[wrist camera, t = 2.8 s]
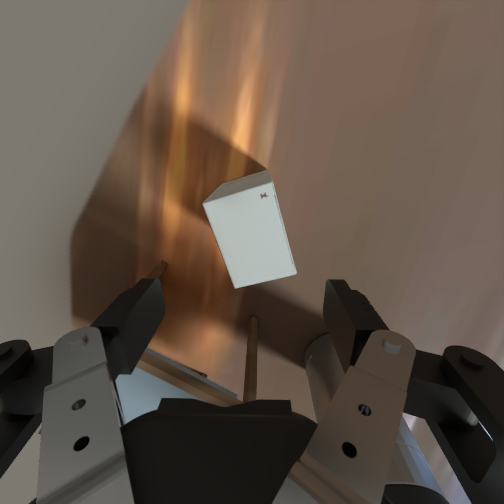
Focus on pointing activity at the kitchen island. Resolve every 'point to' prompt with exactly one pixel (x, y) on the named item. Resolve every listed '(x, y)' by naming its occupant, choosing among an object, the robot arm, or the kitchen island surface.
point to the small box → (250, 230)
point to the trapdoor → (152, 389)
